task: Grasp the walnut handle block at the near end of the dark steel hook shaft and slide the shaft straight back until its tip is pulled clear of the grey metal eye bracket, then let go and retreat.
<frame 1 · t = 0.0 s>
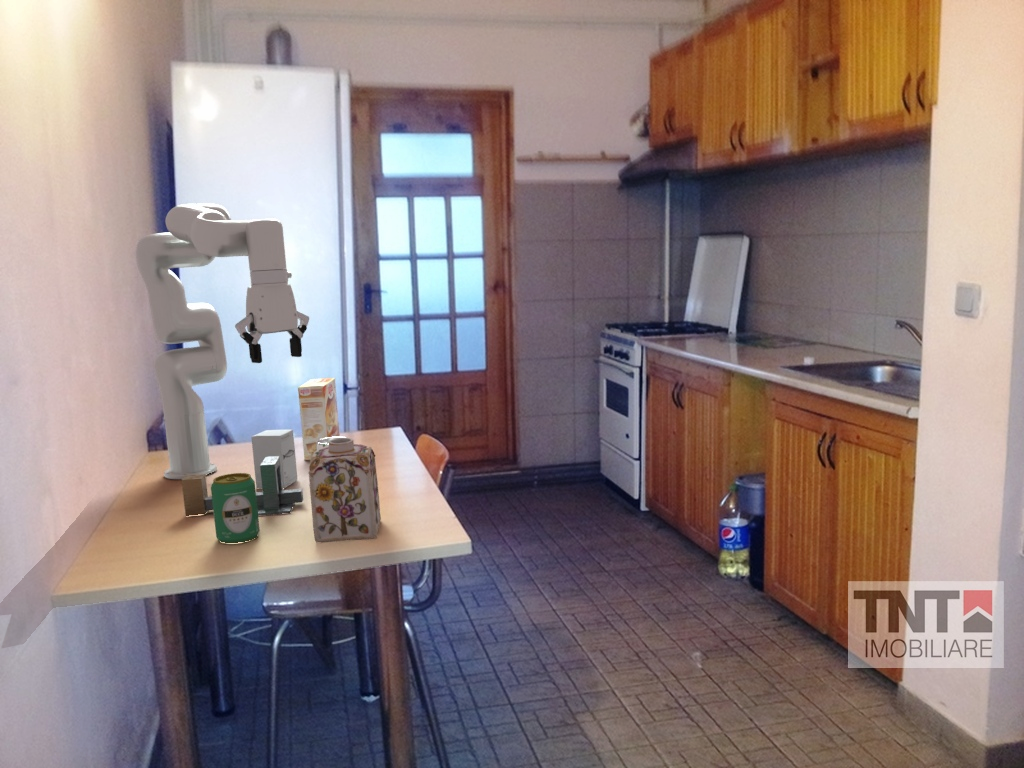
hand: (277, 359, 189), 31 cm above the table, tool pointing down, fingers open, 9 cm apart
beer glass: (338, 511, 185), on the table
decorative jar: (348, 532, 171), on the table
beverage can: (238, 539, 170), on the table
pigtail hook: (244, 491, 189), point 4 cm above the table, slide at 0.0 cm
coffeecake box: (323, 454, 239), on the table
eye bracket: (274, 506, 190), on the table
supplement box: (277, 485, 209), on the table
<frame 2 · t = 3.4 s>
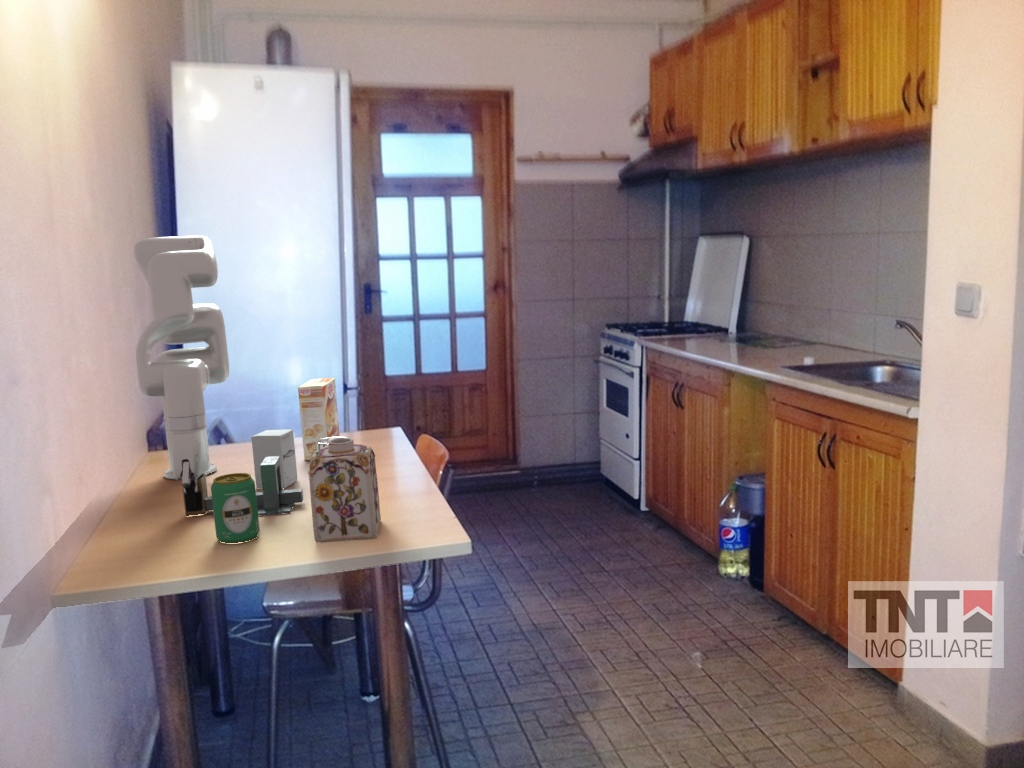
hand: (196, 506, 188), 2 cm above the table, tool pointing down, fingers closed on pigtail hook, 4 cm apart
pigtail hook: (244, 491, 189), point 4 cm above the table, slide at 0.0 cm, touching gripper
everything else where it was.
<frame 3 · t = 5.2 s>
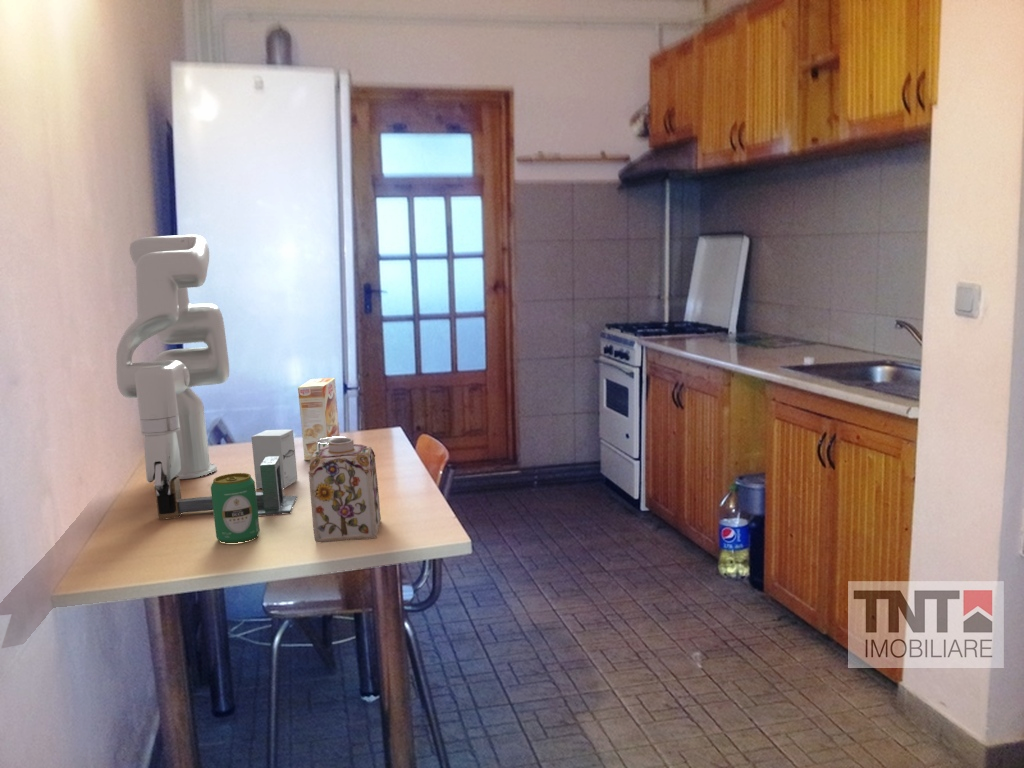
hand: (170, 509, 188), 2 cm above the table, tool pointing down, fingers closed on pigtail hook, 4 cm apart
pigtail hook: (217, 493, 189), point 4 cm above the table, slide at 5.5 cm, touching gripper
everything else where it was.
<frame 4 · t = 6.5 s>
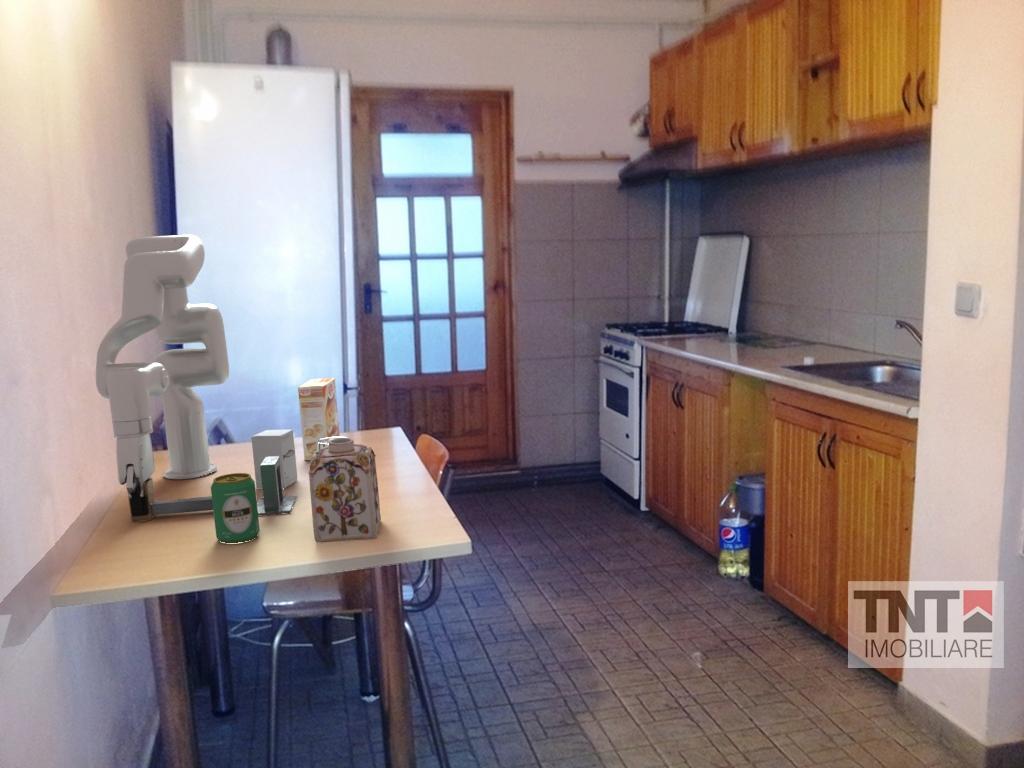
hand: (143, 511, 187), 2 cm above the table, tool pointing down, fingers closed on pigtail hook, 4 cm apart
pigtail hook: (191, 495, 188), point 4 cm above the table, slide at 10.9 cm, touching gripper
everything else where it was.
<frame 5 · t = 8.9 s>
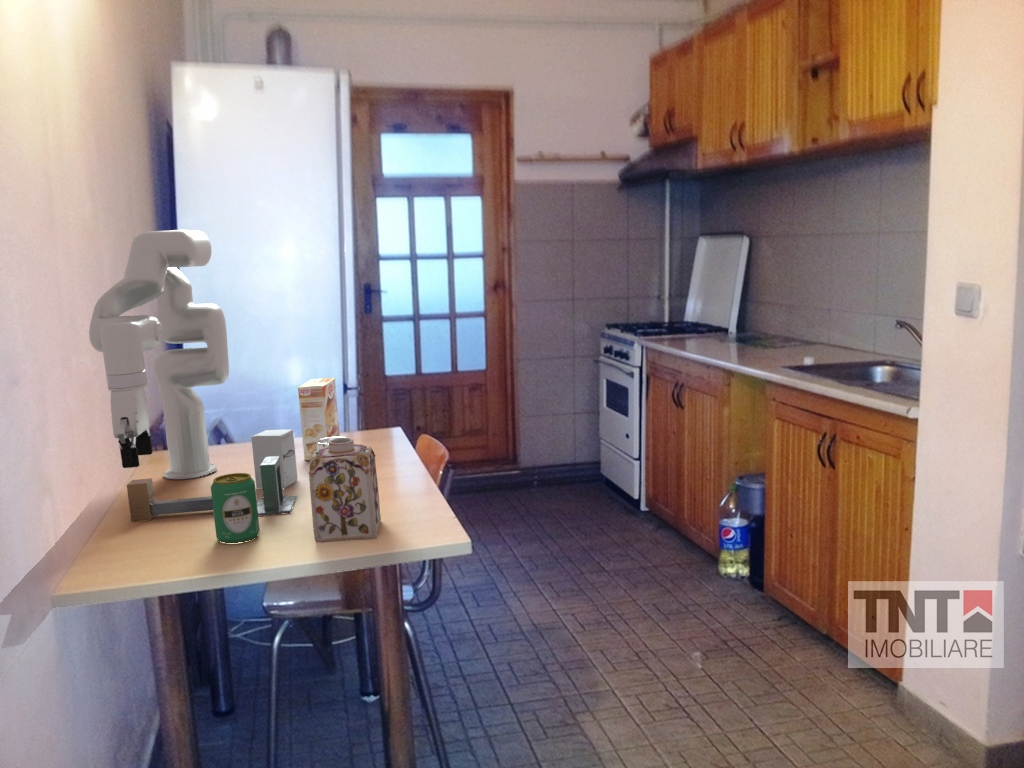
hand: (138, 460, 186), 12 cm above the table, tool pointing down, fingers open, 9 cm apart
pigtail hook: (190, 495, 188), point 4 cm above the table, slide at 11.0 cm
everything else where it was.
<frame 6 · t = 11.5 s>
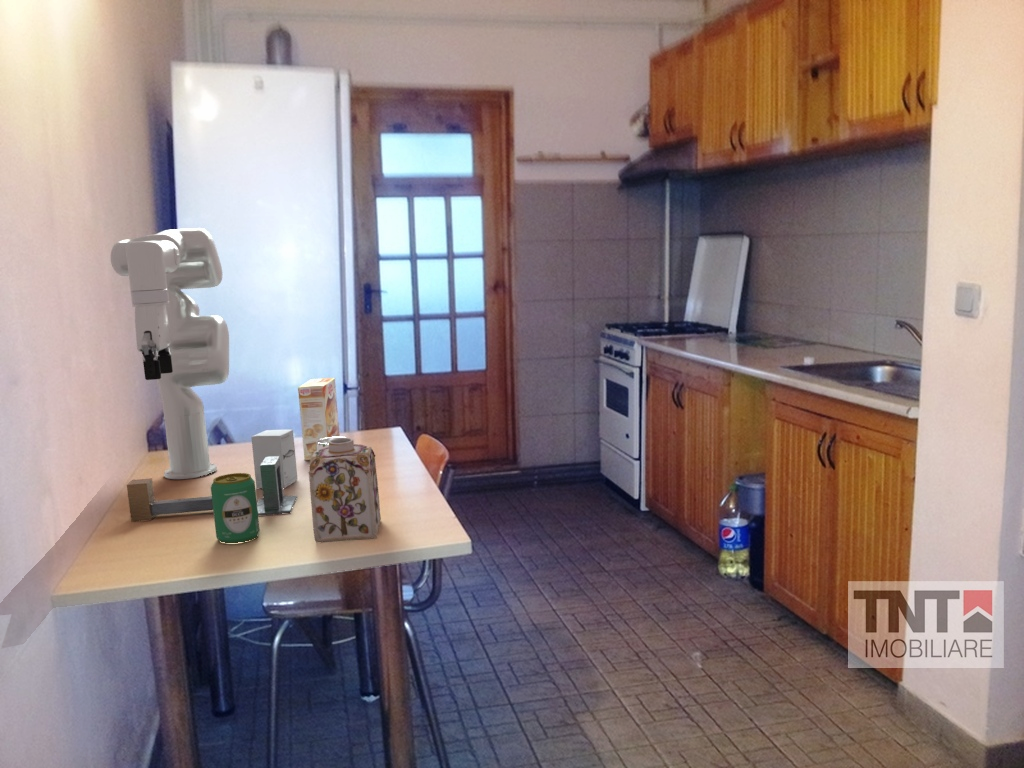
hand: (159, 376, 196), 28 cm above the table, tool pointing down, fingers open, 9 cm apart
nothing on the table moved.
at the end: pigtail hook slide at 11.0 cm; the gripper is holding nothing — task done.
